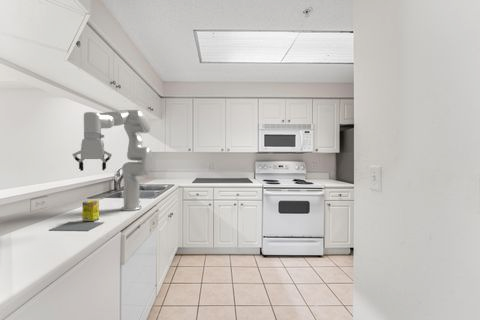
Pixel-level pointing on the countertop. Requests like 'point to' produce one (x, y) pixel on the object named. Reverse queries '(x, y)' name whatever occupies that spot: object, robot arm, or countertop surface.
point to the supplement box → (90, 211)
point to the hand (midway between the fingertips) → (92, 170)
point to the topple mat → (77, 226)
